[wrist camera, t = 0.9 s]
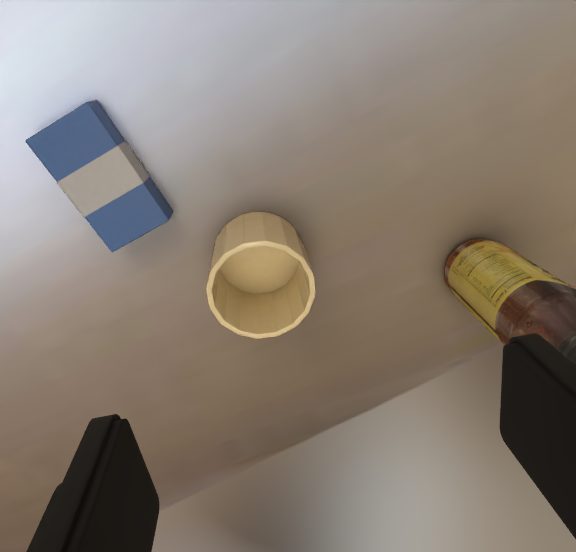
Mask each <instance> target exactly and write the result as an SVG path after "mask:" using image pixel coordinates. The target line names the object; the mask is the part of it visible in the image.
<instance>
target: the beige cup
mask: <svg viewBox="0 0 576 552" xmlns="http://www.w3.org/2000/svg"><path fill="white" fill-rule="evenodd" d="M206 292H207V297H208V302H209V307H210V309H211V311H212V312H213V313H214V315H215V316H216V318H217V319H218V320H219V322H220V323H221V324H222V325H223V326H225V327H227V328H228V329H230V330H231V331H233V332H235V333H236V334H238V335H243V336H247V337H252V338H258V339H259V338H266V337H274V336H279V335H281V334H283V333H285V332H287V331H289V330H291V329H293V328H295V327H296V326H297V325H298V324H299V323H300V322H301V321H302V319H303V318H304V317H305V316H306V315H307V314H308V313H309V311H310V308H311V305H312V303H313V300H314V297H315V283H314V275H313V272H312V269H311V266H310V263H309V260H308V257H307V254H306V251H305V249H304V246H303V243H302V241H301V239H300V237H299V235H298V233H297V232H296V230H295V229H294V228H293V226H292V225H291V224H290V223H288V222H287V221H286V220H284V219H283V218H281V217H279V216H277V215H274V214H271V213H267V212H250V213H246V214H243V215H240V216H238V217H236V218H234V219H233V220H231V221H230V222H229V223H227V224H226V225H225V226H224V227H223V229H222V230H221V231H220V233H219V234H218V236H217V238H216V241H215V244H214V249H213V253H212V258H211V264H210V270H209V275H208V281H207V287H206Z"/></svg>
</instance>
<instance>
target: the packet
mask: <svg viewBox="0 0 576 552" xmlns="http://www.w3.org/2000/svg"><path fill="white" fill-rule="evenodd" d="M26 143H27V144H28V145H29V147H30V148H31V149H32V151H33V152H34V153H35V154H36V156H37V157H38V158H39V159H40V161H41V162H42V163H43V165H44V166H45V167H46V168H47V170H48V171H49V172H50V174H51V175H52V176H53V177H54V179H55V180H56V181H57V184H58V185H59V186H60V188H61V189H62V190H63V191H64V193H65V194H66V195H67V196H68V198H69V199H70V200H71V202H72V203H73V204H74V205H75V207H76V208H77V209H78V211H79V212H80V213H81V214H82V216H83V217H85V218H86V220H87V221H88V222H89V223H90V225H91V226H92V227H93V229H94V230H95V231H96V232H97V234H98V235H99V236H100V237H101V239H102V240H103V241H104V243H105V244H106V245H107V246H108V248H109V249H110V250H111V252H114V251H116V250H117V249H119V248H121V247H123V246H124V245H126V244H128V243H130V242H132V241H133V240H135V239H137V238H139V237H140V236H142V235H144V234H146V233H147V232H149V231H151V230H153V229H155V228H156V227H158V226H160V225H162V224H163V223H165V222H167V221H169V219H170V217H171V215H172V213H173V211H172V209H171V208H170V206H169V205H168V203H167V202H166V200H165V199H164V197H163V196H162V195H161V193H160V192H159V190H158V189H157V187H156V186H155V184H154V183H153V181H152V180H151V178H150V177H149V174H148V173H147V171H146V170H145V168H144V167H143V165H142V164H141V163H140V161H139V160H138V158H137V157H136V155H135V154H134V152H133V151H132V149H131V148H130V146H129V145H128V143H127V142H126V141H125V140H124V139H123V137H122V136H121V134H120V133H119V131H118V130H117V129H116V127H115V126H114V124H113V123H112V121H111V120H110V118H109V117H108V115H107V114H106V112H105V111H104V109H103V108H102V107H101V105H100V104H99V102H98V101H91V102H86V103H85V104H83V105H82V106H80V107H78V108H77V109H75V110H74V111H72V112H70V113H69V114H67V115H65V116H64V117H62V118H61V119H59V120H57V121H56V122H54V123H53V124H51V125H49V126H48V127H46V128H45V129H43V130H41V131H40V132H38V133H37V134H35V135H33V136H32V137H30V138H28V139H27V140H26Z"/></svg>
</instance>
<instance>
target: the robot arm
mask: <svg viewBox="0 0 576 552" xmlns="http://www.w3.org/2000/svg"><path fill="white" fill-rule="evenodd" d="M502 366H503V367H502V388H501V409H500V411H501V412H500V432H501V435H502V438H503V440H504V442H505V443H506V445H507V446H508V448H509V449H510V450H511V452H512V453H513V454H514V456H515V457H516V459H517V460H518V461H519V463H520V464H521V465H522V466H523V468H524V469H525V471H526V472H527V473H528V475H529V476H530V478H531V479H532V480H533V482H534V483H535V484H536V486H537V487H538V488H539V490H540V491H541V492H542V494H543V495H544V497H545V498H546V499H547V500H548V502H549V503H550V505H551V506H552V507H553V509H554V510H555V512H556V513H557V514H558V516H559V517H560V518H561V520H562V521H563V523H564V524H565V525H566V527H567V528H568V529H569V531H570V532H571V533H572V535H573V536H574V537H575V539H576V365H575V364H574V363H572V362H571V361H570V360H569V359H568V358H566V357H565V356H564V355H563V354H562V353H561V352H559V351H558V350H557V349H556V348H555V347H553V346H552V345H551V344H550V343H549V342H547V341H546V340H545V339H544V338H543V337H542V336H540V335H539V334H537V333H532V334H526V335H521V336H516V337H512V338H511V339H510V340H509V344H506V345H505V346H504V348H503V364H502ZM158 514H159V498H158V495H157V492H156V489H155V487H154V484H153V482H152V479H151V477H150V474H149V472H148V469H147V467H146V464H145V462H144V459H143V457H142V454H141V452H140V449H139V447H138V444H137V442H136V439H135V437H134V434H133V432H132V429H131V427H130V424H129V422H128V420H127V419H121V418H120V417H119V416H118V415H117V414H114V415H109V416H104V417H98V418H93V419H92V420H91V421H90V422H89V424H88V426H87V429H86V431H85V433H84V435H83V438H82V440H81V442H80V444H79V447H78V449H77V451H76V453H75V456H74V458H73V460H72V462H71V464H70V467H69V469H68V471H67V473H66V476H65V478H64V480H63V482H62V483H61V484H60V485H59V486H57V488H56V490H55V491H54V493H53V495H52V497H51V500H50V502H49V504H48V506H47V508H46V510H45V513H44V515H43V517H42V519H41V521H40V524H39V526H38V528H37V530H36V532H35V534H34V537H33V539H32V541H31V543H30V545H29V548H28V550H27V552H151V550H152V545H153V540H154V535H155V530H156V525H157V519H158Z"/></svg>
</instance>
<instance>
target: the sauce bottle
mask: <svg viewBox="0 0 576 552" xmlns="http://www.w3.org/2000/svg"><path fill="white" fill-rule="evenodd" d="M445 281H446V284H447V285H448V287H449V288H450V289H451V290H452V292H453V294H454V295H455V296H456V297H457V299H458V300H459V301H460V302H461V303H462V304H463V305H464V306H465V307H466V308H467V309H468V310H469V311H470V312H471V313H472V314H473V315H474V316H475V317H476V318H477V319H478V320H479V321H480V322H481V323H482V324H483V325H484V326H485V327H486V328H487V329H488V330H489V331H490V332H491V333H492V334H493V335H494V336H495V337H496V338H497V339H498V340H499V341H500V342H501V343H502V344H503V345H504V346H505V345H506V344H509V340H510V339H511V338H512V337H516V336H521V335H526V334H532V333H537V334H539V335H540V336H542V337H543V338H544V339H545V340H546V341H547V342H549V343H550V344H551V345H552V346H553V347H555V348H556V349H557V350H558V351H559V352H561V353H562V354H563V355H564V356H565V357H566V358H568V359H569V360H570V361H571V362H572V363H574V364H575V365H576V289H575V288H573V287H571V286H570V285H568V284H566V283H565V282H563V281H561V280H560V279H558V278H557V277H555V276H553V275H552V274H550V273H549V272H547V271H545V270H544V269H542V268H540V267H539V266H537V265H535V264H534V263H532V262H530V261H529V260H527V259H526V258H524V257H522V256H521V255H519V254H518V253H516V252H514V251H513V250H511V249H509V248H508V247H506V246H504V245H503V244H501V243H498V242H495V241H490V240H485V239H474V240H470V241H468V242H466V243H464V244H462V245H461V246H459V247H458V248H457V249H456V250H454V251H453V253H452V254H451V255H450V256H449V257H448V259H447V263H446V266H445Z"/></svg>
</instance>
